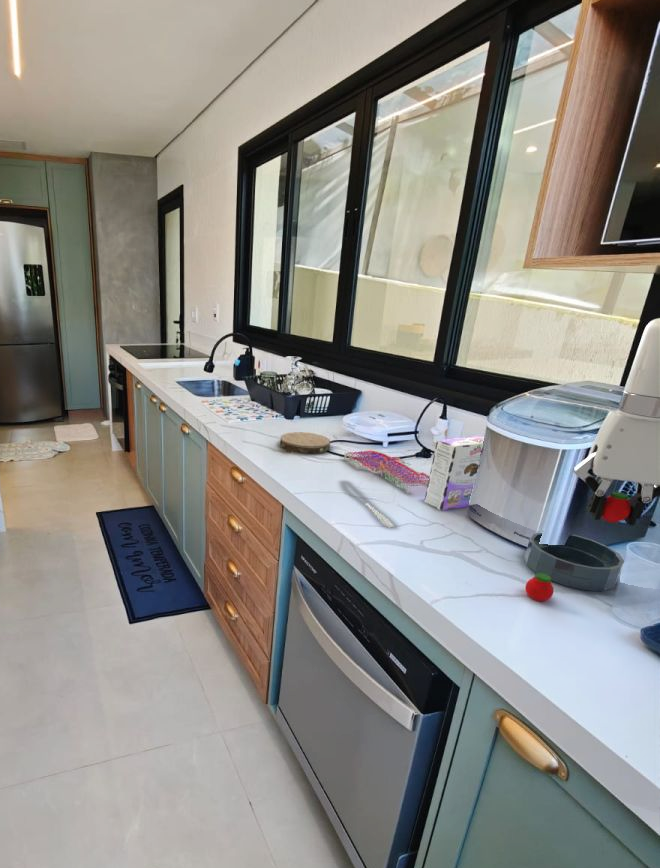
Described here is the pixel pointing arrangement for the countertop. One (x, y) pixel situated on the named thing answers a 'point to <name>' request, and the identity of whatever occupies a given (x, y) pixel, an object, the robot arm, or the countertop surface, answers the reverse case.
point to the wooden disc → (304, 443)
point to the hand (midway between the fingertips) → (611, 518)
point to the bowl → (575, 562)
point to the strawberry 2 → (616, 507)
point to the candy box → (453, 472)
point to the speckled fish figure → (393, 467)
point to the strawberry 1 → (540, 587)
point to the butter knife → (380, 516)
